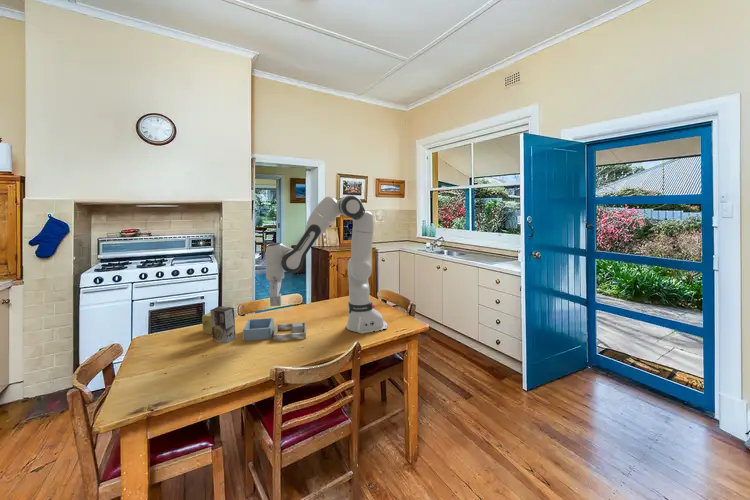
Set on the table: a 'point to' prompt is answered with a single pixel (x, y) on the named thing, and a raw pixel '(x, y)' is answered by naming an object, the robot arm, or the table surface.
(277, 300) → the stone
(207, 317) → the cheese
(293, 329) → the stone
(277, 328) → the corral
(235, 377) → the table surface
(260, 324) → the bin
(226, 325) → the coffee box
